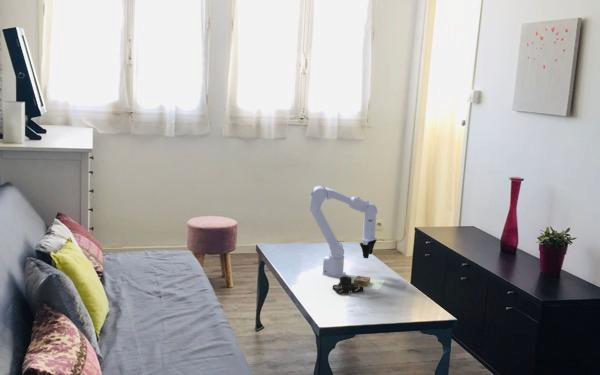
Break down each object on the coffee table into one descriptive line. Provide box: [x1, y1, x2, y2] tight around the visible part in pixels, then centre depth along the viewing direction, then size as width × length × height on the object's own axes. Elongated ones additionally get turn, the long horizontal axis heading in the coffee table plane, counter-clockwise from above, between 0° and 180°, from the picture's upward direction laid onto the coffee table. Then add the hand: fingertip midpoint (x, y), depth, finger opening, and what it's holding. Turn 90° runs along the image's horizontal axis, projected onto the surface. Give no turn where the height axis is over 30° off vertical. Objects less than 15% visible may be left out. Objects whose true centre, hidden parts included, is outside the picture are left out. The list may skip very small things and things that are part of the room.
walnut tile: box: [354, 275, 371, 287], centre depth 290 cm, size 6×2×7 cm
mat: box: [346, 275, 386, 291], centre depth 292 cm, size 18×14×1 cm
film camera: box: [332, 276, 365, 295], centre depth 281 cm, size 13×8×10 cm
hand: (367, 256), depth 302 cm, fingers open, 7 cm apart
